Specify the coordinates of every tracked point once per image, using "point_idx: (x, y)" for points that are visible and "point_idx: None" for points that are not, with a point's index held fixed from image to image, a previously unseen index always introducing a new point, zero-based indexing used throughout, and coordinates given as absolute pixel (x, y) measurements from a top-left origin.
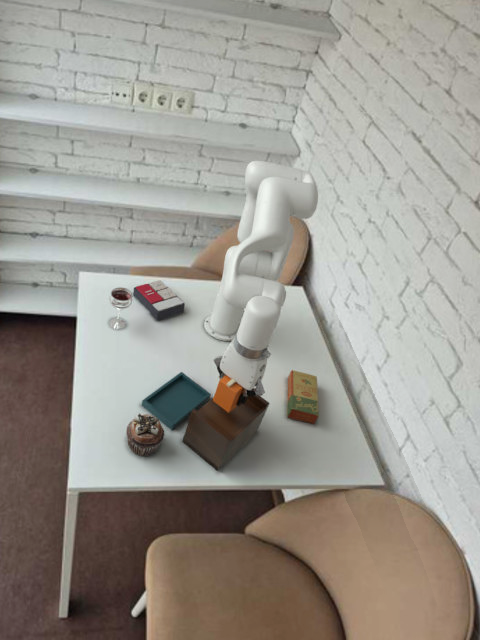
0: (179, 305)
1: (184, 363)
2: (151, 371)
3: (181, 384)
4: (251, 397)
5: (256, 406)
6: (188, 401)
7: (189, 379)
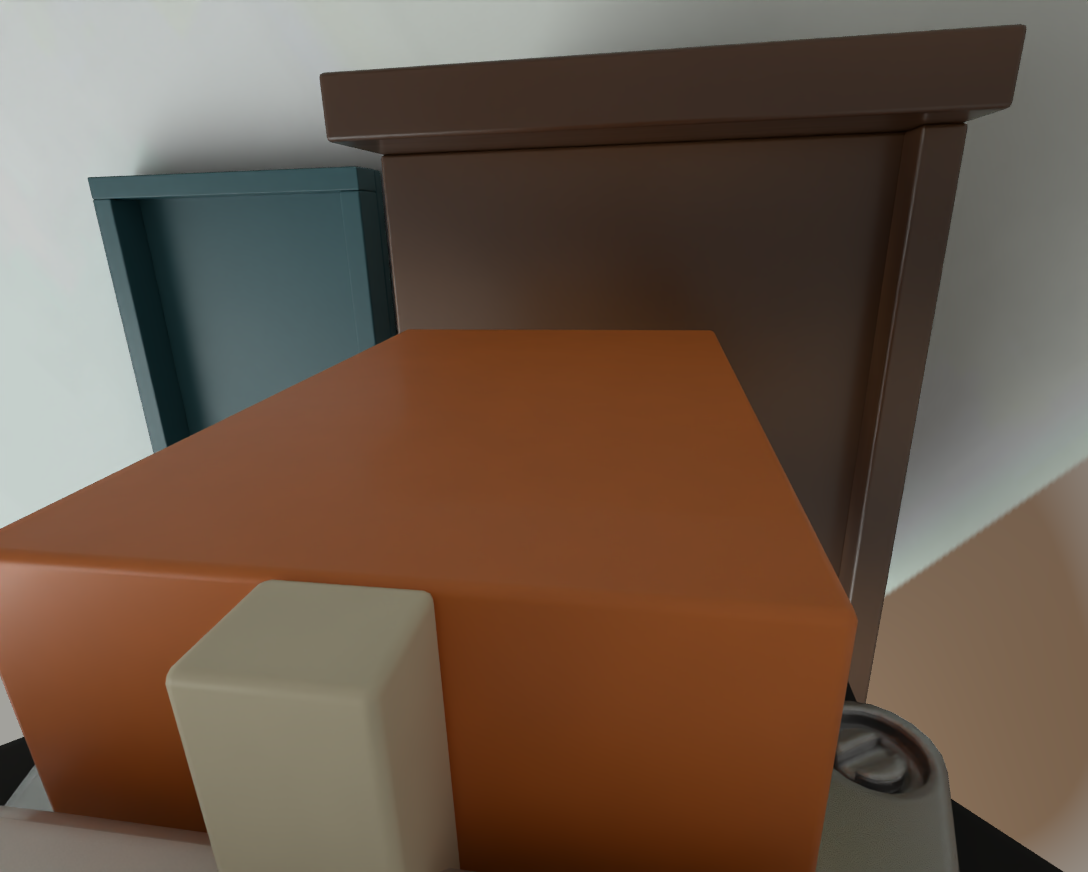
0: None
1: (40, 43)
2: (26, 303)
3: (186, 243)
4: (707, 132)
5: (815, 149)
6: (318, 324)
7: (170, 188)
